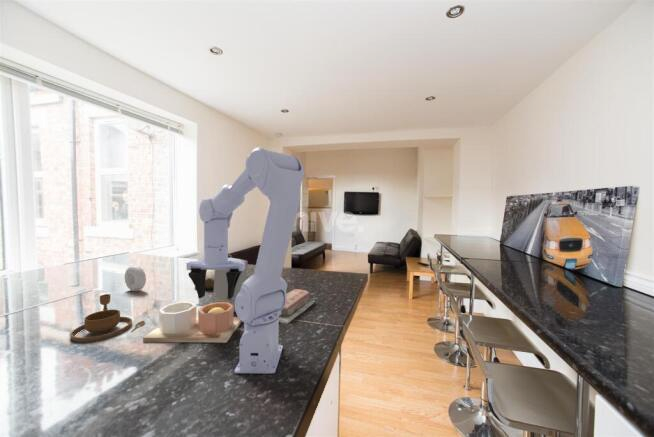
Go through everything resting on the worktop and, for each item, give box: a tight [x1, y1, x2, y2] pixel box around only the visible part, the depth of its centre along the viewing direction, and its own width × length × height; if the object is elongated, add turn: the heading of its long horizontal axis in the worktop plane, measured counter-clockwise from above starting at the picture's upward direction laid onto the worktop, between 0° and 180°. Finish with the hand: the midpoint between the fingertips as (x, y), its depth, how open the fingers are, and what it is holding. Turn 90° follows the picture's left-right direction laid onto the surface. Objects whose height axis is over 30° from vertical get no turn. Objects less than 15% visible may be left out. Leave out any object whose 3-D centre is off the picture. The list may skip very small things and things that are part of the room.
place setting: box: [70, 293, 145, 343], centre depth 69 cm, size 18×20×6 cm
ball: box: [208, 307, 225, 313], centre depth 66 cm, size 5×5×5 cm
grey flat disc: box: [124, 264, 147, 292], centre depth 96 cm, size 10×4×10 cm, turn 66°
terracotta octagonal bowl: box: [197, 302, 234, 334], centre depth 66 cm, size 8×8×5 cm
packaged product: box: [279, 288, 316, 325], centre depth 81 cm, size 18×5×10 cm
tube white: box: [158, 301, 197, 334], centre depth 66 cm, size 8×8×5 cm
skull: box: [194, 270, 215, 292], centre depth 103 cm, size 12×10×10 cm
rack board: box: [142, 315, 243, 344], centre depth 66 cm, size 12×20×1 cm, turn 90°
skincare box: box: [212, 257, 248, 313], centre depth 81 cm, size 8×7×16 cm
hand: (216, 297), depth 66 cm, fingers open, 7 cm apart
